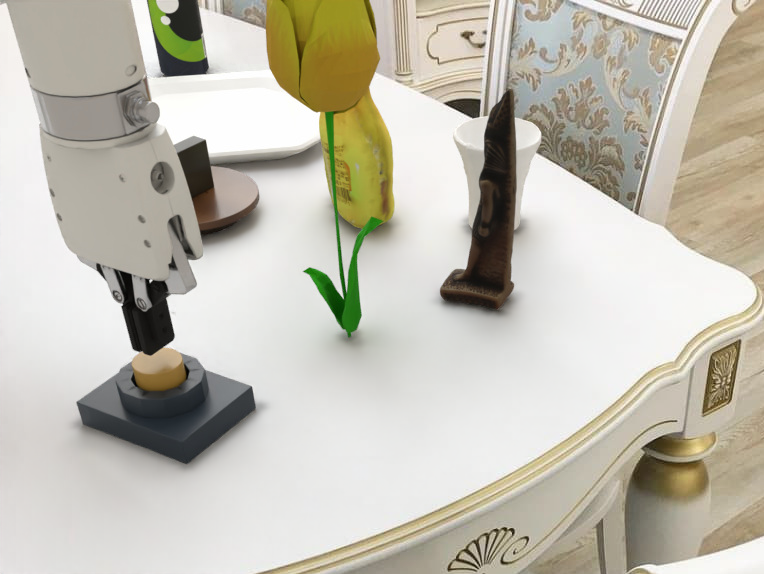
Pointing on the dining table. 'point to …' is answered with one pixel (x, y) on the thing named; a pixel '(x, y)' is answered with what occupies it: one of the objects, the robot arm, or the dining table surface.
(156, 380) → the bell button
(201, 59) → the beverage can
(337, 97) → the flower
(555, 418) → the dining table surface
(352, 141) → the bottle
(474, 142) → the cup
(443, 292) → the statue
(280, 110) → the plate
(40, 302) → the dining table surface
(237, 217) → the turntable
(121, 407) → the grey button base
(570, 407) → the dining table surface
